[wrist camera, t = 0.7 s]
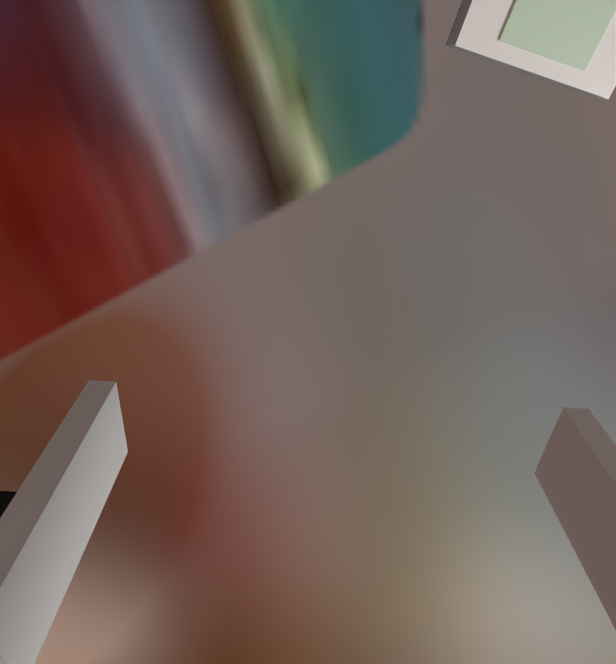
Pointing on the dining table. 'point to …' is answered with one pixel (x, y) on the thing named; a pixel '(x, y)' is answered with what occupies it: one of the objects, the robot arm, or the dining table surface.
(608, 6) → the base plate with post
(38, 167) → the dining table surface
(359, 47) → the dining table surface
